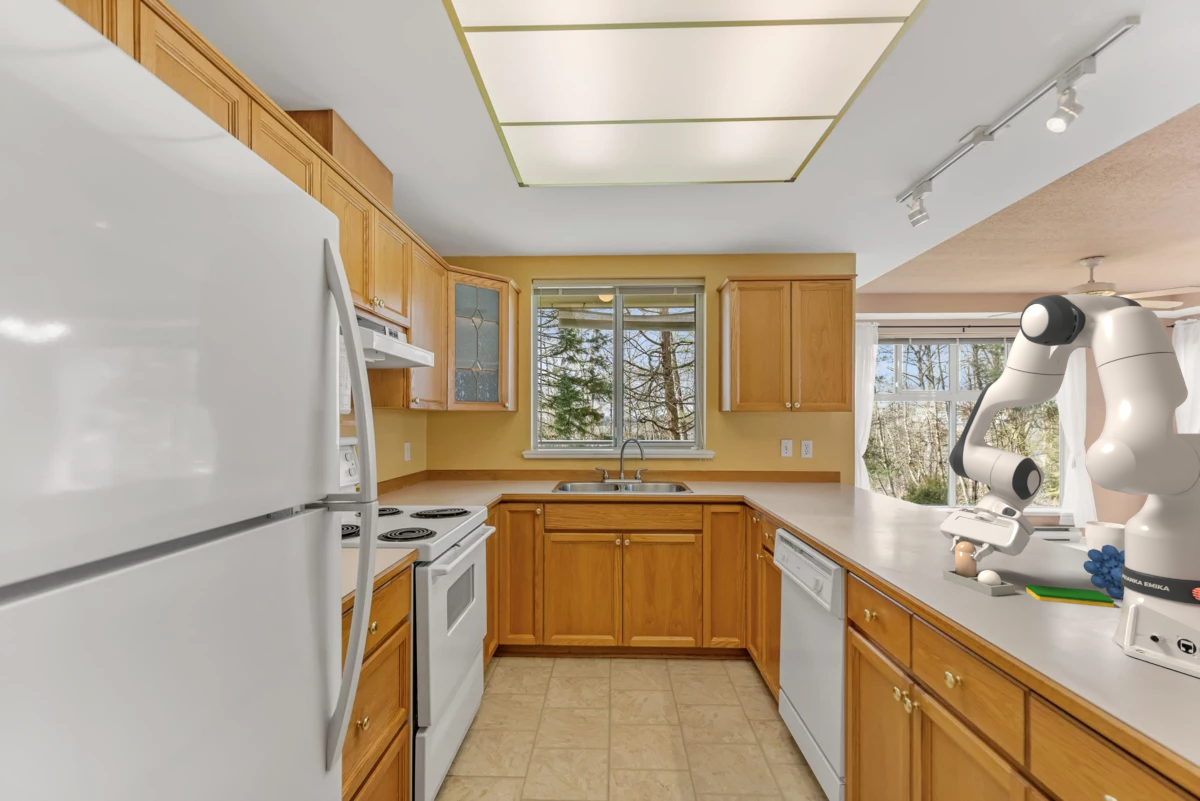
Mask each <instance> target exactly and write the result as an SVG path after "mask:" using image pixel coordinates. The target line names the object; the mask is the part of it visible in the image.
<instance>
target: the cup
mask: <svg viewBox="0 0 1200 801" xmlns="http://www.w3.org/2000/svg"><path fill="white" fill-rule="evenodd" d="M1125 525H1126V524H1121V523H1114V522H1108V521H1107V522H1106V521H1105V522H1104V521H1094V520H1093V521H1086V522H1085V527H1084V537H1085V542H1086V547H1087V552H1088V551H1089V550H1091V549H1096V550H1099V551H1101V550H1102V547H1103V546H1105V545H1111V546H1114V547H1115V548H1116V549H1117V550H1118V552H1119V553H1120V551H1123V550H1125V540H1124V528H1125ZM1101 552H1102V551H1101ZM1088 558H1089V557H1088ZM1089 560H1090V561H1092V560H1091V559H1090V558H1089Z"/></svg>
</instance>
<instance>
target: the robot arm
mask: <svg viewBox="0 0 1200 801" xmlns="http://www.w3.org/2000/svg"><path fill="white" fill-rule="evenodd" d="M1019 327H1020V329H1018V330H1019V331H1018V332H1017V334H1016V336H1015V339H1014V341H1013V342H1012V345H1011V347H1010V350H1009V353H1008V357H1007V360H1006V364H1005V366H1004V370H1003V371H1002V374H1001V375H1000V376H999V377H998V379H997V380H996V381H992V382H988V383H987V384H986V386H985V387H984V388H983V389H982V391H981V392H980V393H979V395H978V398H977V399H976V402H975V404H974V406H973V408H972V410H971V413H970V414H969V417H968V419H967V421H966V424H965V425H964V428H963V430H962V432H961V435H960V437H959V438H958V440H957V441H956V443H955V445H954V447H953V448H952V450H951V452H950V454H949V458H948V461H949V465H950V467H951V469H952V470H953V472H954V473H955V474H956V475H957V476H959V477H961V478H965V479H968V480H973V481H977V482H978V483H982V484H984V485H987V486H991V489H990V490H989V491H988V492H985V494H984V495H983V496H982V497H981V498H980V500H979V501H978V502H977V504H976V505H975V507H973V509H968V508H962V509H957V510H955V511H954V512H952V513H951V514H950V515H949V516H947V518H945V520H944V521H942V523H941V524H939V530H940V533H941V534H942V535H943V536H944V537H945V538H947V539H950V540H952V546H951V548H950V549H949V551H950V553H951V554H952V555H954V556H955V547H956V545H957V544H958V543H960V542H964V541H965V542H969V543H971V544H973V545H974V546H975V547H980V548H981V549H978V550H976V552H975V551H973V553H972V554H971V555H970V557H971V558H972V560H974V561H977V563H980V562H981V561H982V560H983V558H985V557H988V556H990V555H992V554H993V553H994V552H997V553H1001V554H1003V555H1004V554H1005V555H1009V556H1012V557H1016V556H1019V555H1020V554H1022V552H1024V550H1025V548H1026V547H1027V545H1028V544H1029V542H1030V539H1031V536H1033V534H1034V533H1035V532H1036V529H1035V527H1034V526H1033V524H1032V523H1031V521H1030V520H1029V519H1028V518H1027V517H1026V515H1024V514H1023V513H1024V511H1025V509H1026V508H1027V507H1028V506H1029V505H1031V504H1032V502H1033V501H1034V499H1035V498H1036V497H1037V495H1038V493H1039V491H1040V490H1041V488H1042V486H1043V483H1044V481H1045V478H1046V477H1045V476H1046V475H1045V472H1044V471H1043V469H1042V467H1040V466H1039V465H1038V464H1037V463H1035V461H1034V460H1033V459H1032V458H1031V457H1028V456H1026V455H1023V454H1020V453H1018V452H1017V453H1016V452H1014V451H1011V450H1006V449H1003V448H999V447H997V446H994V445H991V444H987V443H986V441H985V437H986V435H987V433H988V430H989V428H990V426H991V424H992V422H993V420H994V418H995V416H996V414H997V413H998V412H999V411H1000V410H1003V409H1008V408H1010V409H1011V408H1024V407H1032V406H1037V405H1040V404H1041V405H1042V404H1044V403H1046V402H1048V401H1050V400H1052V399H1053V398H1054V397H1055V396H1057V395H1058V393H1059V391H1060V389H1061V388H1062V385H1063V381H1064V379H1065V374H1066V370H1067V368H1068V362H1069V358H1070V356H1071V355H1072V353H1073V352H1074V351H1076V350H1077V349H1080V348H1084V349H1085V348H1089V349H1090V350H1091V351H1092V352H1091V353H1092V354H1093V358H1094V362H1095V366H1096V370H1097V374H1098V376H1099V382H1100V385H1101V386H1100V387H1101V390H1102V394H1103V398H1104V404H1105V418H1104V424H1103V428H1102V430H1101V434H1100V435H1099V437H1098V438H1097V439H1096V440H1095V441H1094V442H1093V443H1092V444H1091V445H1090V446H1089V447H1088V449H1087V451H1086V455H1085V459H1084V465H1085V469H1086V472H1087V474H1088V476H1089V478H1091V481H1093V482H1094V483H1095V484H1096V485H1097V486H1099V487H1100V488H1103V489H1104V490H1108V491H1113V492H1118V493H1121V494H1128V495H1135V496H1139V495H1141V496H1144V495H1145V496H1147V498H1146V499H1145V502H1144V504H1143V505H1142V507H1141V508H1140V510H1139V511H1137V513H1136V514H1134V515H1133V516H1132V517H1130V518H1129V519H1128V520H1127V521H1126V523H1125V524H1124V525H1125V528H1124V540H1125V564H1123V565H1122V574H1121V583H1122V589H1123V592H1124V595H1123V597H1122V598H1123V599H1122V606H1121V613H1120V617H1119V621H1118V624H1117V628H1116V631H1115V633H1114V635H1113V638H1112V639H1113V641H1114V642H1115V643H1116V644H1117V645H1119V646H1120V647H1122V650H1123V651H1122V652H1123V653H1124V654H1125V655H1126V656H1130V657H1132V658H1136V659H1139V660H1141V661H1145V662H1148V663H1151V664H1155V665H1158V666H1161V667H1164V668H1168V669H1171V670H1174V671H1177V672H1180V673H1183V674H1186V675H1189V676H1193V677H1195V678H1199V679H1200V433H1175V431H1174V416H1175V412H1176V410H1177V408H1178V407H1180V406H1182V405H1183V404H1184V403H1185V402H1186V401H1187V398H1188V395H1189V390H1188V388H1187V384H1186V382H1185V378H1184V376H1183V372H1182V369H1181V365H1180V363H1179V360H1178V356H1177V354H1176V351H1175V348H1174V346H1173V343H1172V340H1171V338H1170V336H1169V334H1168V331H1167V330H1166V328H1165V327H1164V324H1162V321H1161V320H1160V319H1159V317H1158V316H1157V314H1156V313H1155V312H1154V311H1153V310H1151V309H1150V308H1147V307H1144V306H1142V304H1140V303H1139V302H1137V301H1136V300H1134V299H1131V298H1130V297H1129V298H1128V297H1124V296H1119V295H1110V296H1106V295H1099V294H1098V295H1097V294H1088V293H1074V294H1073V293H1072V294H1062V295H1059V294H1050V295H1045V296H1040V297H1038V298H1035V299H1032V300H1031V301H1030V302H1029V303H1027V304H1026V306H1025V307H1024V309H1023V310H1022V313H1021V314H1020V320H1019Z"/></svg>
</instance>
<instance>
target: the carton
mask: <svg viewBox="0 0 1200 801" xmlns="http://www.w3.org/2000/svg"><path fill="white" fill-rule="evenodd" d="M979 573H980V572H977V577H974V578H968V577H962V576H959V575H956V574H955V569H951V570H948V569H947V570H943V578H942V579H943V580H944V581H947V582H951V583H953V584H957V585H959V586H962V587H965V588H966V589H970V590H973V591H976V592H979V593H982V594H984V595H987V596H990V597H996V596H1005V595H1006V596H1007V595H1015V594H1016V592H1015V591H1016V589H1015V587H1016V586H1015V584H1013V583H1010V582H1006V581H1005V580H1001V585H998V586H989V585H986V584H983V583H980V582H978V575H979Z"/></svg>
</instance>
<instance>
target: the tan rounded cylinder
mask: <svg viewBox="0 0 1200 801" xmlns="http://www.w3.org/2000/svg"><path fill="white" fill-rule="evenodd" d="M973 551H975V552H977V549H976V546H975V545H973V544H971V543H969V542H965V541H964V542H960V543H958V544H957V545H956V547H955V555H954V559H955V560H954V561H955V562H954V564H955V567H954V570H955V574H956V575H959V576H962V577H968V578H974V577H977V573H978V572H977V571H978V570H977V569H978V568H977V565H978V564H977V563H978V562H977V561H974V560H972V558H971V557H970V555H971V554H972V553H973Z"/></svg>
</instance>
